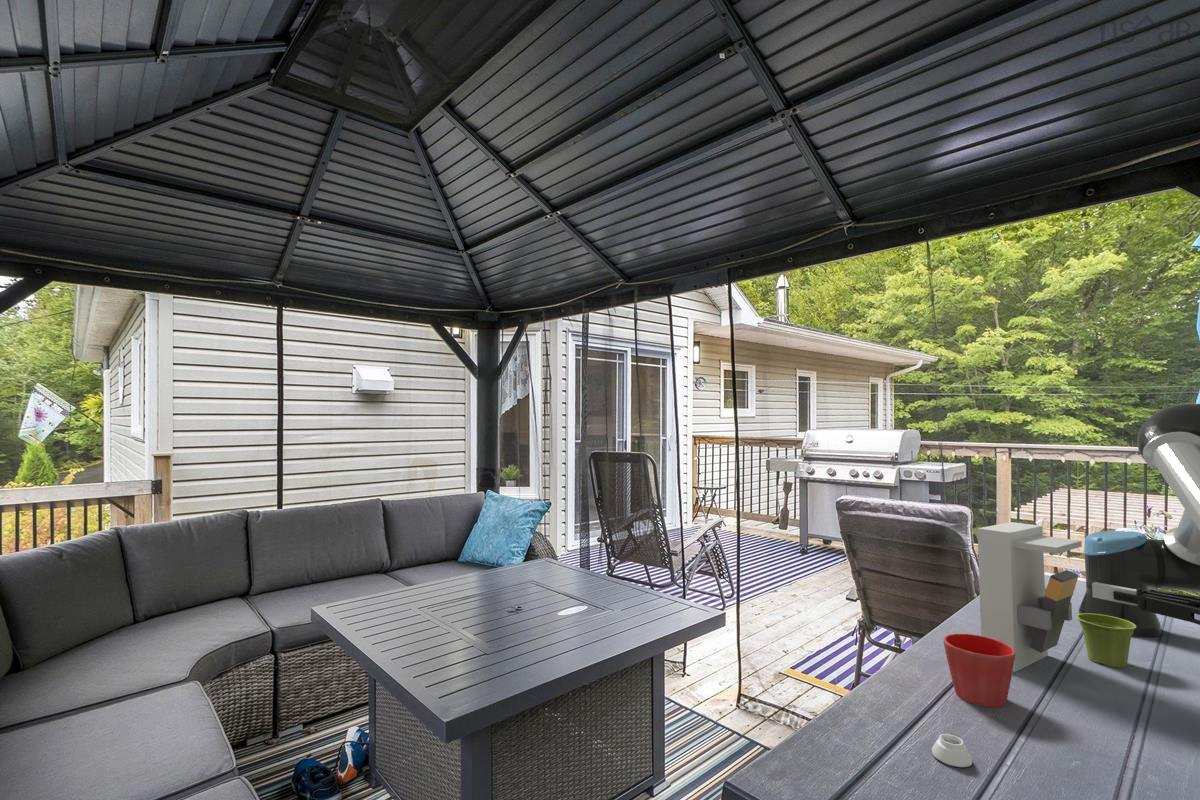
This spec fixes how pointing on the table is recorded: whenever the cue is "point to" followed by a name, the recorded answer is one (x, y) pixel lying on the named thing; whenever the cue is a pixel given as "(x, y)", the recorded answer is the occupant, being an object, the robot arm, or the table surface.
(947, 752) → the white jar
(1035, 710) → the table surface
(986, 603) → the box
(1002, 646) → the flower pot
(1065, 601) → the breaker switch
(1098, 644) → the plant pot
